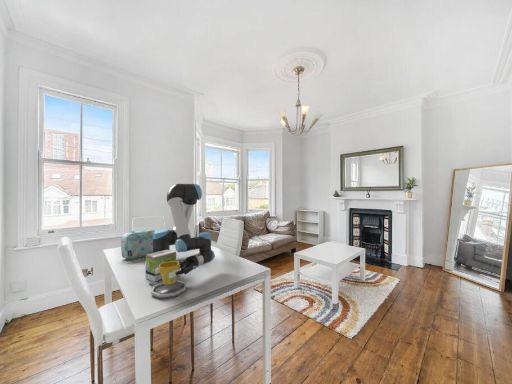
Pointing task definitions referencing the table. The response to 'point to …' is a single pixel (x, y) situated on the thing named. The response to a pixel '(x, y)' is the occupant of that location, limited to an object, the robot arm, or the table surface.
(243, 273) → the table surface
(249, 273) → the table surface
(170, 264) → the plant pot
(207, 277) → the table surface
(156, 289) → the octagonal handled pan
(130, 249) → the lunch box
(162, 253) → the tea box
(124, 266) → the table surface
